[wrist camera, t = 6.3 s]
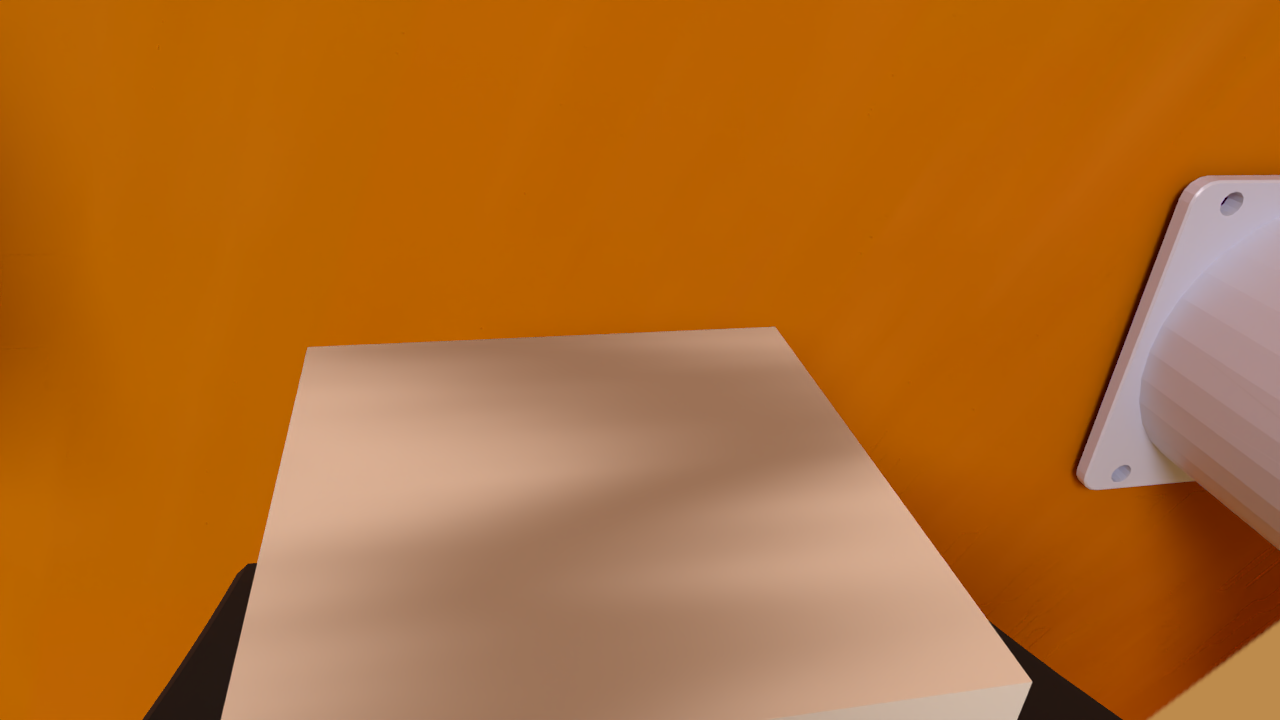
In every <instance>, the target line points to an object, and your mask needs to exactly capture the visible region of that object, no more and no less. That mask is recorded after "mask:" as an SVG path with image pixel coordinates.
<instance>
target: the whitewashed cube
mask: <svg viewBox="0 0 1280 720" xmlns="http://www.w3.org/2000/svg"><path fill="white" fill-rule="evenodd" d="M1031 684H1032V680H1031V679H1030V678H1029V676H1028V675H1027V674H1026V672H1025V671H1024V669H1023V668H1022V667H1021V665H1020V664H1019V663H1018V661H1017V660H1016V658H1015V657H1014V656H1013V654H1012V653H1011V652H1010V650H1009V649H1008V647H1007V646H1006V645H1005V643H1004V642H1003V640H1002V639H1001V638H1000V636H999V635H998V634H997V632H996V631H995V629H994V628H993V627H992V625H991V624H990V623H989V621H988V620H987V618H986V617H985V616H984V614H983V613H982V612H981V610H980V609H979V607H978V606H977V605H976V603H975V602H974V600H973V599H972V598H971V596H970V595H969V594H968V592H967V591H966V589H965V588H964V587H963V585H962V584H961V583H960V581H959V580H958V578H957V577H956V576H955V574H954V573H953V572H952V570H951V569H950V567H949V566H948V565H947V563H946V562H945V560H944V559H943V558H942V556H941V555H940V554H939V552H938V551H937V549H936V548H935V547H934V545H933V544H932V543H931V541H930V540H929V538H928V537H927V536H926V534H925V533H924V532H923V530H922V529H921V527H920V526H919V525H918V523H917V522H916V520H915V519H914V518H913V516H912V515H911V514H910V512H909V511H908V509H907V508H906V507H905V505H904V504H903V503H902V501H901V500H900V498H899V497H898V496H897V494H896V493H895V492H894V490H893V489H892V487H891V486H890V485H889V483H888V482H887V480H886V479H885V478H884V476H883V475H882V474H881V472H880V471H879V469H878V468H877V467H876V465H875V464H874V463H873V461H872V460H871V458H870V457H869V456H868V454H867V453H866V452H865V450H864V449H863V447H862V446H861V445H860V443H859V442H858V440H857V439H856V438H855V436H854V435H853V434H852V432H851V431H850V429H849V428H848V427H847V425H846V424H845V423H844V421H843V420H842V418H841V417H840V416H839V414H838V413H837V412H836V410H835V409H834V407H833V406H832V405H831V403H830V402H829V400H828V399H827V398H826V396H825V395H824V394H823V392H822V391H821V389H820V388H819V387H818V385H817V384H816V383H815V381H814V380H813V378H812V377H811V376H810V374H809V373H808V372H807V370H806V369H805V367H804V366H803V365H802V363H801V362H800V360H799V359H798V358H797V356H796V355H795V354H794V352H793V351H792V349H791V348H790V347H789V345H788V344H787V343H786V341H785V340H784V338H783V337H782V336H781V334H780V333H779V332H778V330H777V329H776V327H760V328H737V329H714V330H691V331H668V332H645V333H623V334H600V335H577V336H554V337H531V338H508V339H485V340H462V341H439V342H416V343H393V344H370V345H348V346H325V347H308V348H307V352H306V357H305V361H304V365H303V369H302V374H301V378H300V382H299V387H298V391H297V395H296V399H295V404H294V408H293V412H292V417H291V421H290V425H289V429H288V434H287V438H286V442H285V447H284V451H283V455H282V460H281V464H280V468H279V472H278V477H277V481H276V485H275V490H274V494H273V498H272V502H271V507H270V511H269V515H268V520H267V524H266V528H265V532H264V537H263V541H262V545H261V550H260V554H259V558H258V562H257V567H256V571H255V575H254V580H253V584H252V588H251V592H250V597H249V601H248V605H247V610H246V614H245V618H244V622H243V627H242V631H241V635H240V640H239V644H238V648H237V652H236V657H235V661H234V665H233V670H232V674H231V678H230V683H229V687H228V691H227V695H226V700H225V704H224V708H223V713H222V717H221V720H1017V719H1018V716H1019V714H1020V711H1021V709H1022V706H1023V704H1024V702H1025V699H1026V697H1027V694H1028V692H1029V689H1030V687H1031Z"/></svg>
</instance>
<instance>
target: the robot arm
mask: <svg viewBox="0 0 1280 720" xmlns="http://www.w3.org/2000/svg"><path fill="white" fill-rule="evenodd" d="M1227 196H1228V198H1227V200H1226V201H1225V203H1224V204H1223V205H1222V206H1221V203H1222V202H1223V200H1224V199H1225V198H1226V197H1227ZM1076 475H1077V478H1078V480H1079V481H1080V482H1081V483H1082V484H1083V485H1085V486H1086V487H1087V488H1088V489H1090V490H1103V489H1114V488H1125V487H1135V486H1146V485H1157V484H1168V483H1179V482H1190V481H1196V482H1197V483H1198V484H1200V485H1201V486H1202V487H1203V488H1204V489H1206V490H1207V491H1208V492H1209V493H1210V494H1212V495H1213V496H1214V497H1215V498H1216V499H1218V500H1219V501H1220V502H1221V503H1223V504H1224V505H1225V506H1226V507H1227V508H1229V509H1230V510H1231V511H1232V512H1233V513H1235V514H1236V515H1237V516H1238V517H1239V518H1241V519H1242V520H1243V521H1244V522H1246V523H1247V524H1248V525H1249V526H1250V527H1252V528H1253V529H1254V530H1255V531H1256V532H1258V533H1259V534H1260V535H1261V536H1262V537H1264V538H1265V539H1266V540H1267V541H1269V542H1270V543H1271V544H1272V545H1273V546H1275V547H1276V548H1277V549H1278V550H1279V551H1280V175H1222V176H1204V177H1200V178H1198V179H1196V180H1195V181H1193V182H1191V183H1190V184H1189V185H1188V186H1187V187H1186V188H1185V189H1184V191H1183V192H1182V194H1181V196H1180V198H1179V200H1178V203H1177V206H1176V208H1175V211H1174V214H1173V216H1172V219H1171V222H1170V224H1169V227H1168V230H1167V232H1166V235H1165V238H1164V240H1163V243H1162V245H1161V248H1160V251H1159V253H1158V256H1157V259H1156V261H1155V264H1154V267H1153V269H1152V272H1151V275H1150V277H1149V280H1148V282H1147V285H1146V288H1145V290H1144V293H1143V296H1142V298H1141V301H1140V304H1139V306H1138V309H1137V312H1136V314H1135V317H1134V320H1133V322H1132V325H1131V327H1130V330H1129V333H1128V335H1127V338H1126V341H1125V343H1124V346H1123V349H1122V351H1121V354H1120V357H1119V359H1118V362H1117V364H1116V367H1115V370H1114V372H1113V375H1112V378H1111V380H1110V383H1109V386H1108V388H1107V391H1106V394H1105V396H1104V399H1103V402H1102V404H1101V407H1100V409H1099V412H1098V415H1097V417H1096V420H1095V423H1094V425H1093V428H1092V431H1091V433H1090V436H1089V439H1088V441H1087V444H1086V446H1085V449H1084V452H1083V454H1082V457H1081V460H1080V462H1079V465H1078V468H1077V473H1076ZM256 567H257V563H253V564H247V565H246V566H245V567H244V568H243V569H242V570H241V571H240V572H239V573H238V574H237V575H236V577H235V579H234V580H233V582H232V584H231V585H230V587H229V589H228V590H227V592H226V594H225V595H224V597H223V599H222V600H221V602H220V604H219V605H218V607H217V608H216V610H215V612H214V613H213V615H212V617H211V618H210V620H209V621H208V623H207V625H206V626H205V628H204V629H203V631H202V632H201V634H200V636H199V637H198V639H197V640H196V642H195V643H194V645H193V646H192V648H191V649H190V651H189V653H188V654H187V656H186V657H185V659H184V660H183V662H182V663H181V665H180V666H179V668H178V669H177V671H176V672H175V674H174V675H173V677H172V678H171V680H170V681H169V683H168V684H167V686H166V687H165V689H164V690H163V691H162V693H161V694H160V696H159V697H158V698H157V700H156V701H155V703H154V704H153V706H152V707H151V708H150V710H149V711H148V713H147V714H146V715H145V717H144V718H143V720H221V717H222V713H223V708H224V704H225V700H226V695H227V691H228V687H229V683H230V678H231V674H232V670H233V665H234V661H235V657H236V652H237V648H238V644H239V640H240V635H241V631H242V627H243V622H244V618H245V614H246V610H247V605H248V601H249V597H250V592H251V588H252V584H253V580H254V575H255V571H256ZM989 623H990V624H991V625H992V627H993V628H994V629H995V631H996V632H997V634H998V635H999V636H1000V638H1001V639H1002V640H1003V642H1004V643H1005V645H1006V646H1007V647H1008V649H1009V650H1010V652H1011V653H1012V654H1013V656H1014V657H1015V658H1016V660H1017V661H1018V663H1019V664H1020V665H1021V667H1022V668H1023V669H1024V671H1025V672H1026V674H1027V675H1028V676H1029V678H1030V679H1031V680H1032V684H1031V687H1030V689H1029V692H1028V694H1027V697H1026V699H1025V702H1024V704H1023V706H1022V709H1021V711H1020V714H1019V716H1018V719H1017V720H1122V719H1121V718H1119V717H1118V716H1117V715H1115V714H1114V713H1112V712H1111V711H1110V710H1108V709H1107V708H1105V707H1104V706H1103V705H1101V704H1100V703H1098V702H1097V701H1096V700H1094V699H1093V698H1091V697H1090V696H1089V695H1087V694H1086V693H1084V692H1083V691H1081V690H1080V689H1079V688H1077V687H1076V686H1074V685H1073V684H1072V683H1070V682H1069V681H1067V680H1066V679H1065V678H1063V677H1062V676H1060V675H1059V674H1058V673H1056V672H1055V671H1054V670H1052V669H1051V668H1050V667H1048V666H1047V665H1046V664H1044V663H1043V662H1042V661H1040V660H1039V659H1038V658H1036V657H1035V656H1034V655H1032V654H1031V653H1030V652H1028V651H1027V650H1026V649H1024V648H1023V647H1022V646H1020V645H1019V644H1018V643H1017V642H1015V641H1014V640H1013V639H1011V638H1010V637H1009V636H1007V635H1006V634H1005V633H1004V632H1002V631H1001V630H1000V629H998V628H997V627H996V626H995V625H993V624H992V623H991V622H990V621H989Z"/></svg>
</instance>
